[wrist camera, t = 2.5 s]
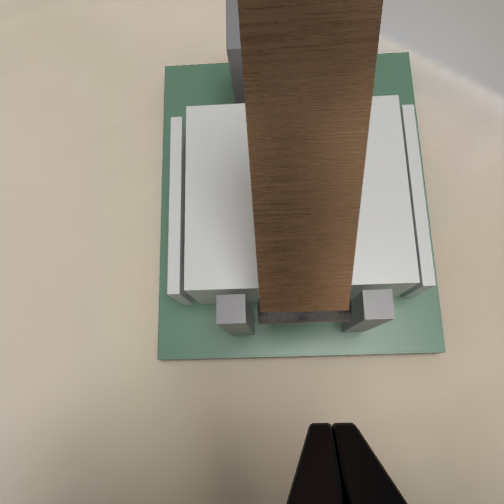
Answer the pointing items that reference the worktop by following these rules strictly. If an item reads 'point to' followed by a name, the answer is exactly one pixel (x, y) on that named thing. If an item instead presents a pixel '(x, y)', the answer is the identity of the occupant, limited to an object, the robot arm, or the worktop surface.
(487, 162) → the worktop surface
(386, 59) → the circuit board module
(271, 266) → the brown thin bar
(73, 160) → the worktop surface
